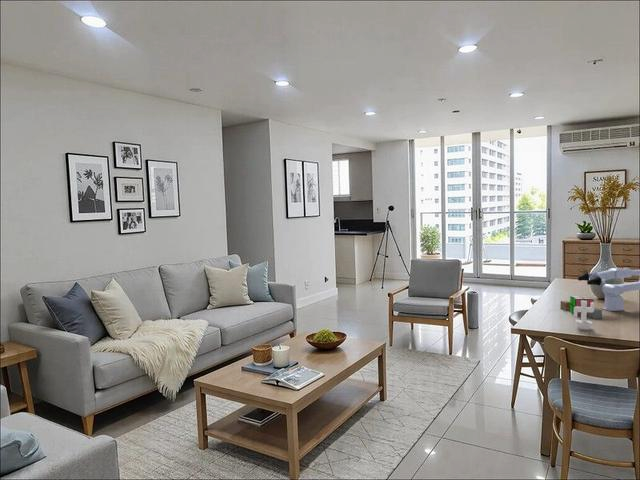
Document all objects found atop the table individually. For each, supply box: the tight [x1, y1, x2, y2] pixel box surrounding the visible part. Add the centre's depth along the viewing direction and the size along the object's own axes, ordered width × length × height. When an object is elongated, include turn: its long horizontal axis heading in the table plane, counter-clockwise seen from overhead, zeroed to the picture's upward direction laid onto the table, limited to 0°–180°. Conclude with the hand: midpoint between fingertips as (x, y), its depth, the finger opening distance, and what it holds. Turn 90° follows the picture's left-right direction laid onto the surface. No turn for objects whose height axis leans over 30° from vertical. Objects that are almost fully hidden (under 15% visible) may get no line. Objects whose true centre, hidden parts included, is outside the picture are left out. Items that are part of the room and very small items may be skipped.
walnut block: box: [560, 300, 570, 311], centre depth 297 cm, size 5×5×5 cm
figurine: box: [573, 301, 595, 331], centre depth 250 cm, size 7×9×15 cm
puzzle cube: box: [569, 295, 595, 316], centre depth 284 cm, size 10×10×10 cm
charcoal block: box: [587, 307, 603, 320], centre depth 274 cm, size 5×5×5 cm
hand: (583, 280), depth 288 cm, fingers open, 7 cm apart
